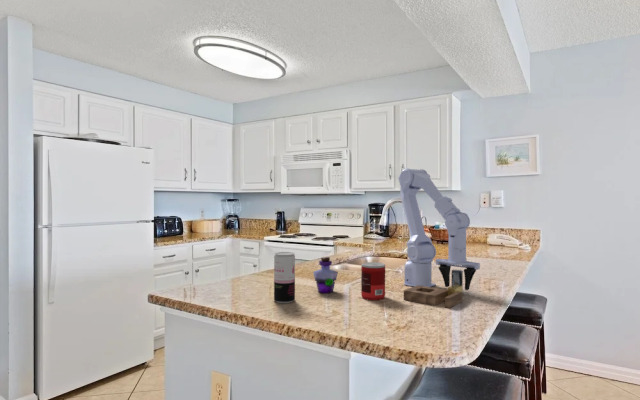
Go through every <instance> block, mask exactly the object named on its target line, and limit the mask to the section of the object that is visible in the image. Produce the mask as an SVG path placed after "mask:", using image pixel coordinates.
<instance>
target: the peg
mask: <svg viewBox="0 0 640 400" xmlns="http://www.w3.org/2000/svg"><path fill="white" fill-rule="evenodd" d="M463 276H464V270H462V269H451V286H453V285H462V296H463V295H464V294H463V292H464V290H463V288H464V286H463V284H464V283H463V282H464V281H463V280H464V279H463Z"/></svg>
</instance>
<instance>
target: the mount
mask: <svg viewBox="0 0 640 400" xmlns="http://www.w3.org/2000/svg"><path fill="white" fill-rule="evenodd" d="M462 300H463V295H462V292H456V293H454V294H451V295H449V296H448V289H443V288H437V287H433V286H432V287H426V286H419V285H417V286H411V287H410V288H407V289H404V290H403V301H409V302H412V303H413V302H415V303H420V304H425V305H429V306H430V305H431V306H437V305H439V304H441V303H444V308H446V309H451V308H452V307H456V306H457V305H458V304H460V303H461V302H463V301H462Z"/></svg>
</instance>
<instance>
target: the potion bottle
mask: <svg viewBox="0 0 640 400" xmlns="http://www.w3.org/2000/svg"><path fill="white" fill-rule="evenodd" d="M330 259H331V258H330V257H329V256H322V257H320V260H319V261H318V263H319V264H318V265H319V266H321V267H320V268H321V269H317V270H314V271H313V272H312V273H313V277H314V281H315V284H316V288H317V293H319V294H324V295H325V294H332V293H334V289H335V284H336V282H335V281H337V277H338V271H336V270H335V269H331V267H330V266H332V265H333V260H330ZM318 291H319V292H318Z"/></svg>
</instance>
